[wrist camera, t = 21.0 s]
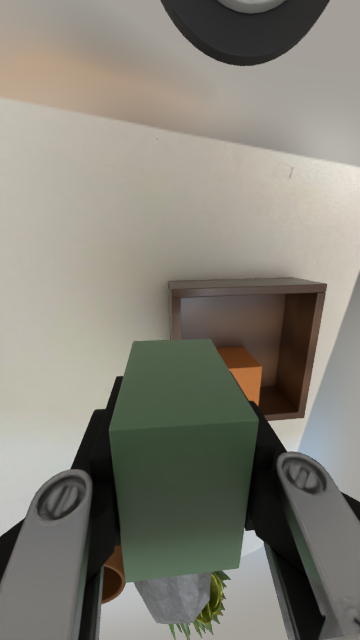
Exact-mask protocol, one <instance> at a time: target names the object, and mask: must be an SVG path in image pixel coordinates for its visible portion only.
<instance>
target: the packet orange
mask: <svg viewBox="0 0 360 640" xmlns="http://www.w3.org/2000/svg"><path fill="white" fill-rule="evenodd" d="M216 349H217V351H218V353H219V354H220V356H221V357H222V359H223V361H224V362H225V364H226V366H227V367H228V369H229V371H231V372H232V374H233V376H234V377H235V379H236V380H237V382H238V384H239V385H240V387H241V389H242V390H243V392H244V394H245V395H246V397H247V398H248V400H249V401H254V402H255V403H256V404H257V406H258V404H259V394H260V384H261V374H262V366H261V365H260V364H259V363H258V362H257V361H256V359H255V358H254V357H253V356H252V355H251V354H250V353H249V352H248V351H247V350H246V349H245V348H244V347H226V348H216Z"/></svg>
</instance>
